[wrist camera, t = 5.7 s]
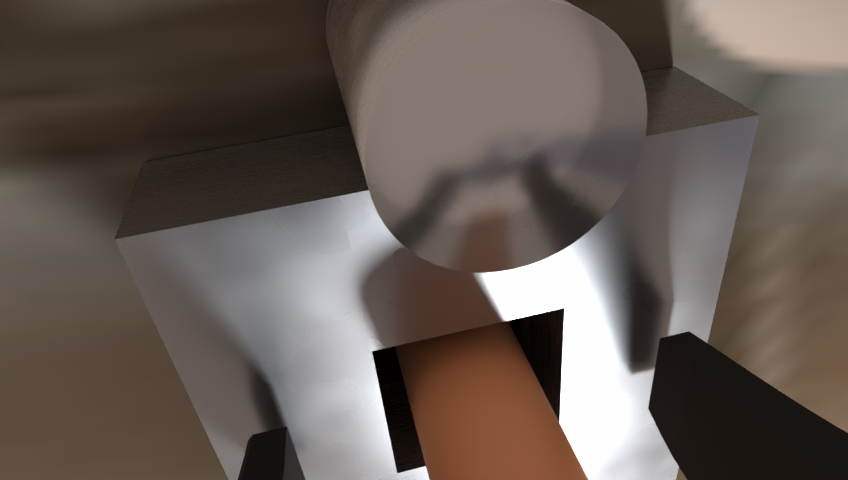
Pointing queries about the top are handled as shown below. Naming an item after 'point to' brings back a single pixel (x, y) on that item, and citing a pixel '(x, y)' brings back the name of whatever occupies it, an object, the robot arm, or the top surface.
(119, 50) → the top surface
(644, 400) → the slotted grey box
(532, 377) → the sausage
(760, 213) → the top surface
